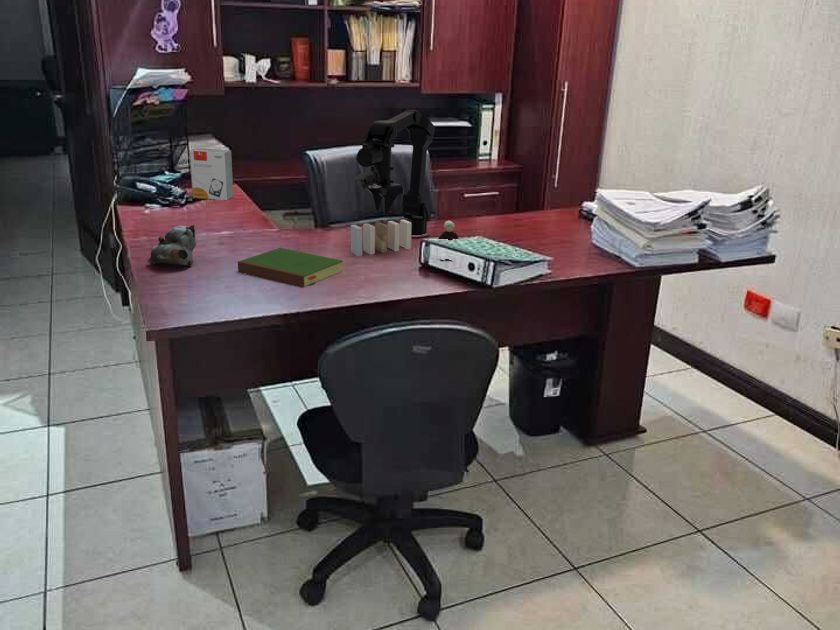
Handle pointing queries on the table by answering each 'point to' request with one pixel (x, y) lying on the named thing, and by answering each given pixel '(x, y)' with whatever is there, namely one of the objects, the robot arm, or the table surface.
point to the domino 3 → (381, 237)
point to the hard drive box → (211, 173)
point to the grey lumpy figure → (175, 247)
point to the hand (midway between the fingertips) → (381, 211)
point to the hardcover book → (290, 267)
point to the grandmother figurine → (448, 231)
